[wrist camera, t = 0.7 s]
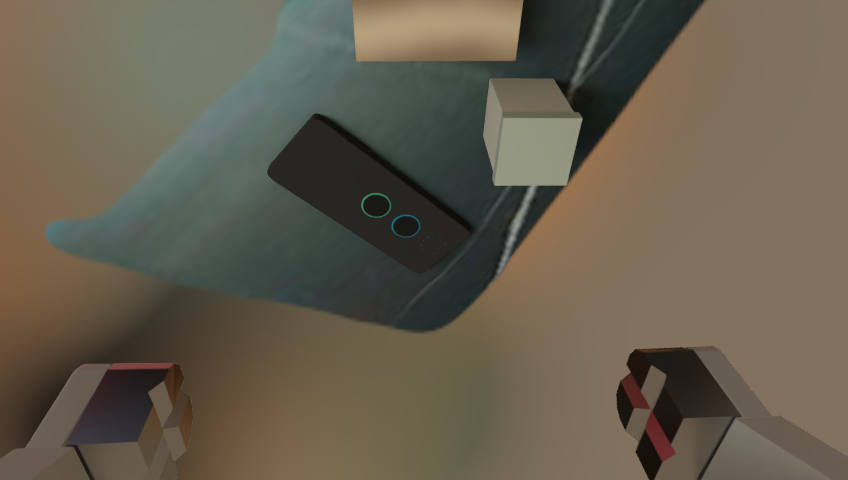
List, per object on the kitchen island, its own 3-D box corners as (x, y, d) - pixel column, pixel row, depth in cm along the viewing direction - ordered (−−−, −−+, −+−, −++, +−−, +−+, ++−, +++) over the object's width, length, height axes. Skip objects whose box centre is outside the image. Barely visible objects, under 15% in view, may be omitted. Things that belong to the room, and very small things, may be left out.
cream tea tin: (487, 75, 45) (503, 117, 39) (556, 76, 46) (582, 118, 39) (480, 138, 49) (494, 185, 43) (543, 138, 49) (566, 185, 43)
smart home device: (419, 277, 58) (263, 176, 49) (418, 267, 60) (266, 166, 50) (473, 233, 55) (316, 115, 45) (471, 223, 56) (318, 107, 47)
